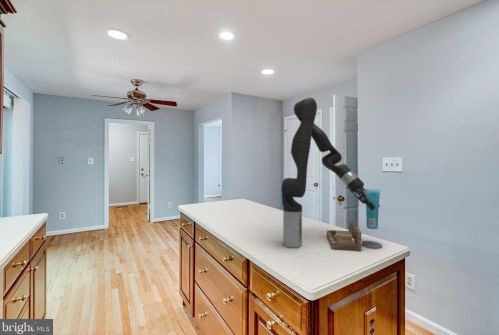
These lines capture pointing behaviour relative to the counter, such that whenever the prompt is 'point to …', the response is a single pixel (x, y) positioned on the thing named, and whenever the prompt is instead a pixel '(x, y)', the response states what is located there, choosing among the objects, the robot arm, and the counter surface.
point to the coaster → (372, 244)
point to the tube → (373, 214)
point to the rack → (346, 246)
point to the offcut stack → (343, 237)
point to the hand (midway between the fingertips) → (376, 208)
